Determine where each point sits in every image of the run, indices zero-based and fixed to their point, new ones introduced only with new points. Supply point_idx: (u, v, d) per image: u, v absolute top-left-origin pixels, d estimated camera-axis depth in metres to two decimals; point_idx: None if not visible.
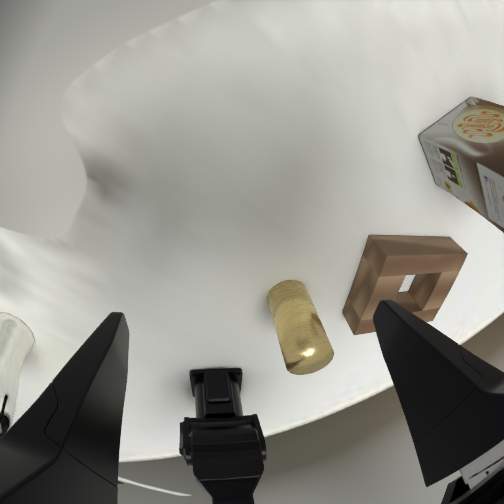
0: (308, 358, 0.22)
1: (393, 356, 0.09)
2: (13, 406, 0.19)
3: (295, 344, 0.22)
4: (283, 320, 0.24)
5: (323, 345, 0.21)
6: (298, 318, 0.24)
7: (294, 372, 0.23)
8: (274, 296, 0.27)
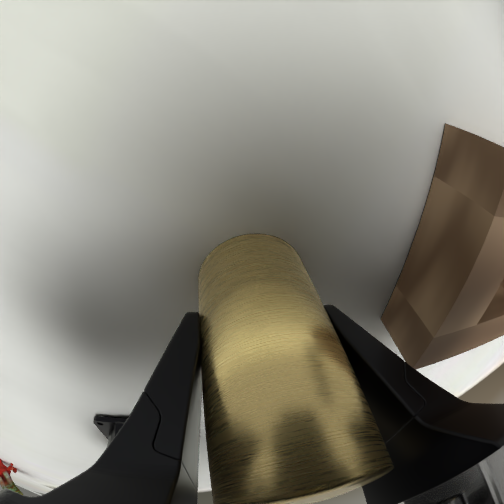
0: (298, 499, 0.04)
1: None
2: None
3: (244, 466, 0.04)
4: (216, 354, 0.07)
5: (367, 472, 0.04)
6: (267, 351, 0.06)
7: None
8: (207, 277, 0.09)
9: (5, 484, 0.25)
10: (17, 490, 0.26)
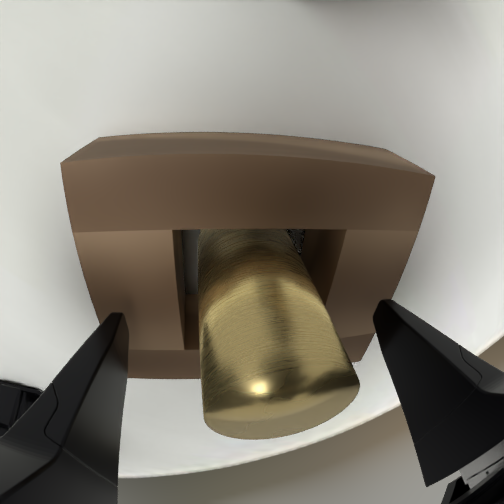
0: (275, 405, 0.06)
1: (393, 356, 0.09)
2: None
3: (228, 360, 0.06)
4: (210, 286, 0.09)
5: (329, 366, 0.06)
6: (249, 277, 0.08)
7: (239, 436, 0.07)
8: (205, 236, 0.11)
9: None
10: None
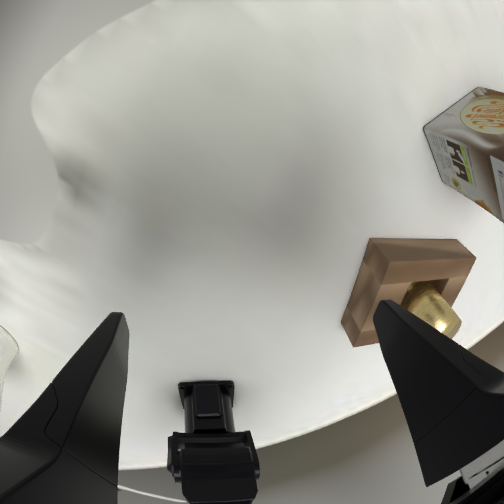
0: (444, 332, 0.20)
1: (393, 356, 0.09)
2: None
3: (438, 319, 0.20)
4: (418, 300, 0.23)
5: (458, 318, 0.20)
6: (432, 296, 0.22)
7: None
8: None
9: None
10: None
